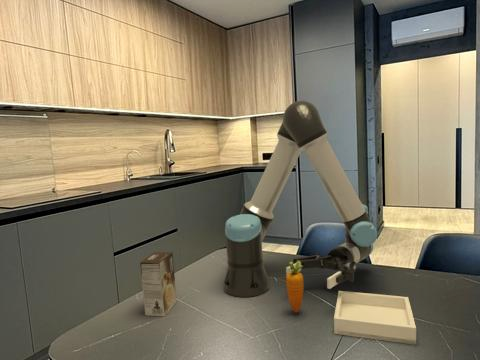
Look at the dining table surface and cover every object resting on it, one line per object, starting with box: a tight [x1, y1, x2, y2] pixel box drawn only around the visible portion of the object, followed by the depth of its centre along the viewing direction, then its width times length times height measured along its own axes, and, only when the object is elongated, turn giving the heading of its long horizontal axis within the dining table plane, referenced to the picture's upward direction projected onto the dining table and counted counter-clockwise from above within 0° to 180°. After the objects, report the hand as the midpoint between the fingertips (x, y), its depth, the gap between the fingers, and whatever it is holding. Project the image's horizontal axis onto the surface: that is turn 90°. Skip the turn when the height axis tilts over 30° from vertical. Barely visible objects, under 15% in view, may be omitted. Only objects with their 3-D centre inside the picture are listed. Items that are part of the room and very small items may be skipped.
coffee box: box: [139, 251, 178, 317], centre depth 102 cm, size 9×6×16 cm
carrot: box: [285, 261, 304, 314], centre depth 95 cm, size 5×5×15 cm
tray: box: [333, 290, 417, 346], centre depth 89 cm, size 18×16×4 cm
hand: (306, 277), depth 97 cm, fingers open, 13 cm apart
